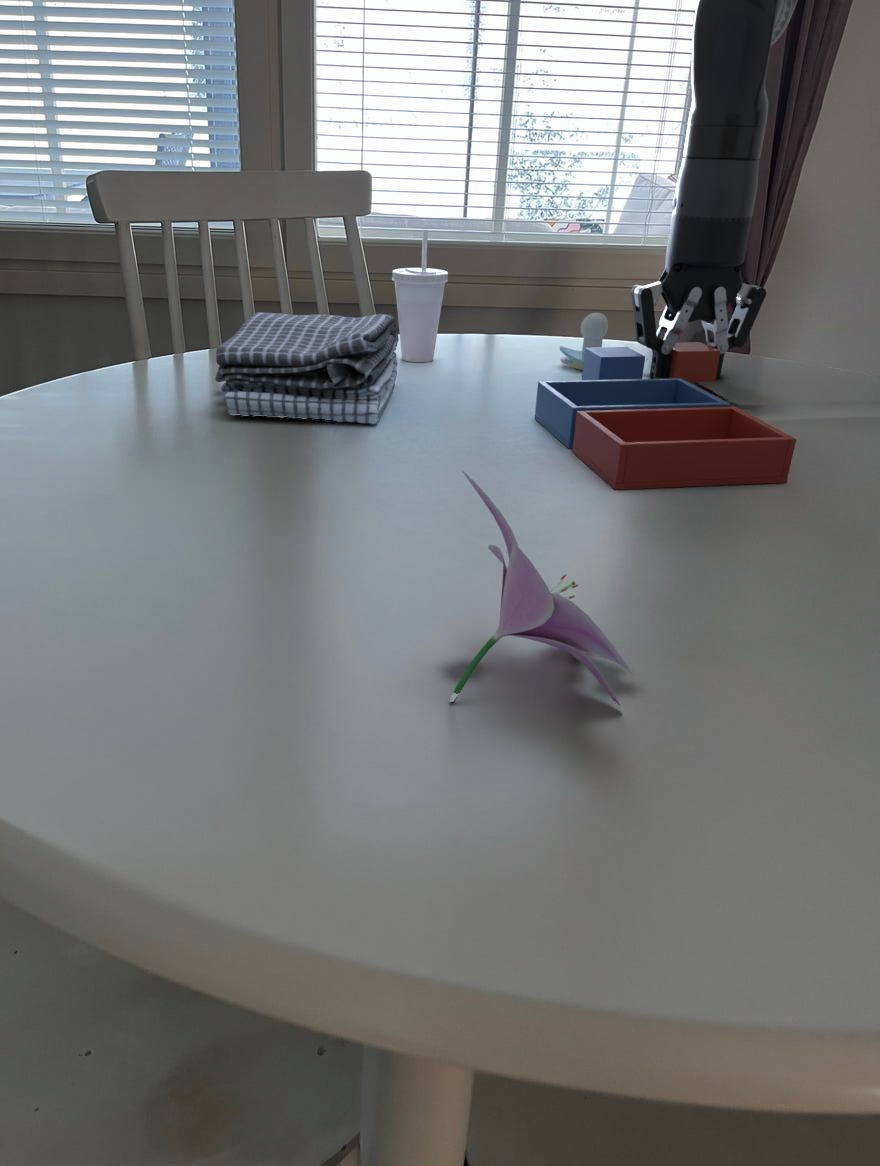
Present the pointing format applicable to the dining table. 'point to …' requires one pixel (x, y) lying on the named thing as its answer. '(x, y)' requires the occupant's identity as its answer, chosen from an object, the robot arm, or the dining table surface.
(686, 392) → the blue bin
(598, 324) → the pacifier
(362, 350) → the towel
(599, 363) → the blue block
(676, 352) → the red block
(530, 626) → the lily
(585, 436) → the red bin
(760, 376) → the dining table surface
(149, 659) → the dining table surface
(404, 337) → the smoothie
